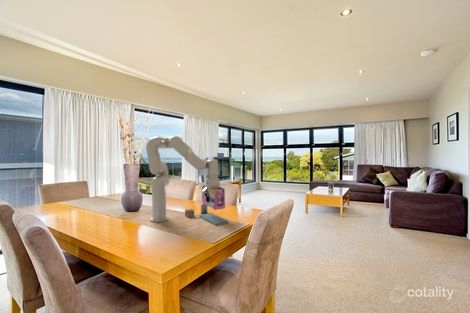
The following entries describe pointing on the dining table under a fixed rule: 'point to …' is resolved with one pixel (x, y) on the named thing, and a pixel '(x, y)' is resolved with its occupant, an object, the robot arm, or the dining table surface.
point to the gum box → (214, 198)
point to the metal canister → (203, 209)
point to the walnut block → (189, 213)
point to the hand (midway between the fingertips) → (213, 200)
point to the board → (213, 219)
